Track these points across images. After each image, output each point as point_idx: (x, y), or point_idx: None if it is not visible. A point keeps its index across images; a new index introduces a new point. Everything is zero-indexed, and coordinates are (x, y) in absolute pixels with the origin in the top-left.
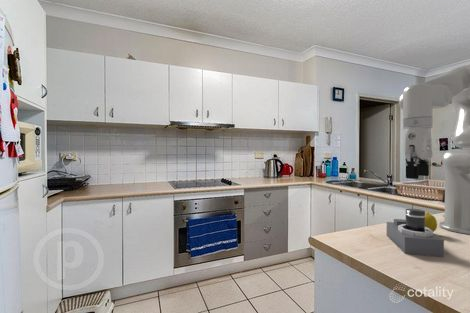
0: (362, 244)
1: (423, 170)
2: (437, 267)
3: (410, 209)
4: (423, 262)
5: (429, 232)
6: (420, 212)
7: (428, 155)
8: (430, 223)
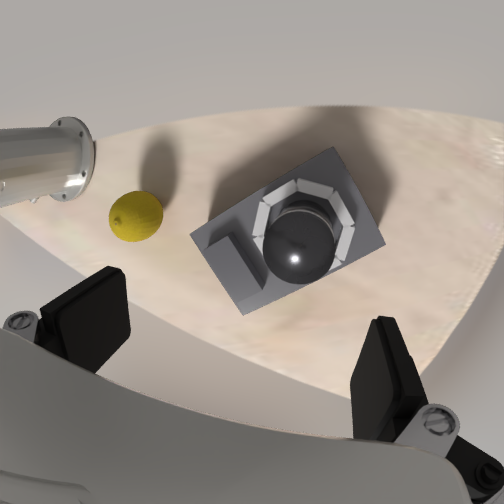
0: None
1: (103, 317)
2: (415, 158)
3: (288, 268)
4: (406, 186)
5: (323, 186)
6: (325, 227)
7: (111, 431)
8: (150, 205)
